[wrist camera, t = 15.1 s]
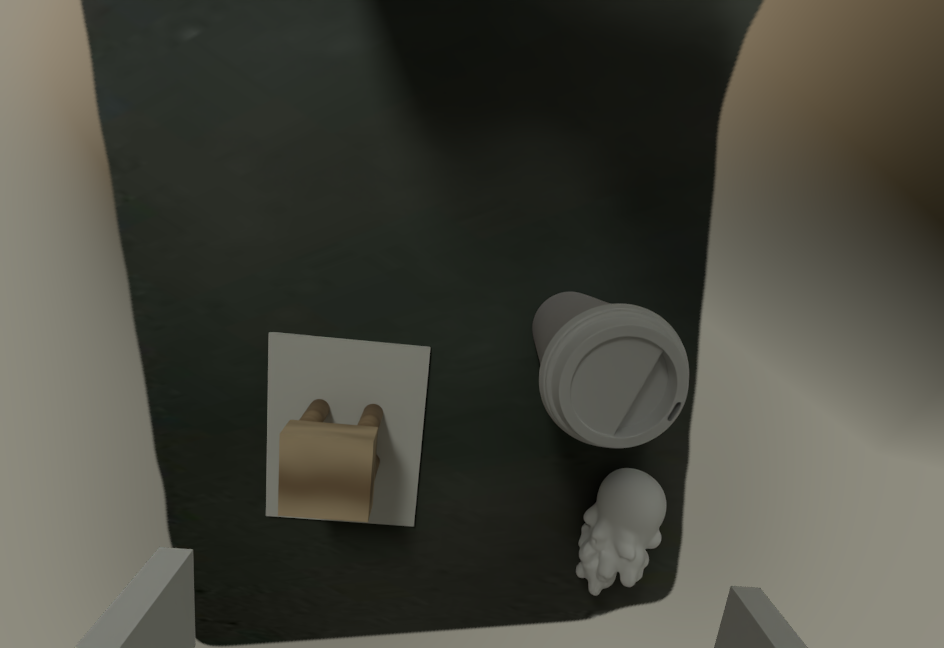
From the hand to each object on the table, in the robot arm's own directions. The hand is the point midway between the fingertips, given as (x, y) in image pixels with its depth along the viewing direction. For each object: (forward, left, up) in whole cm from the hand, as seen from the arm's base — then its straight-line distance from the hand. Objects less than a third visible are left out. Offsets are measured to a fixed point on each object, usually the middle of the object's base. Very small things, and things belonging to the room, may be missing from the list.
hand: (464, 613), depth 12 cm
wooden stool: (+12, -9, -32) cm, 36 cm away
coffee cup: (0, +10, -33) cm, 34 cm away
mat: (+12, -9, -33) cm, 36 cm away
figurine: (+18, +17, -33) cm, 41 cm away
